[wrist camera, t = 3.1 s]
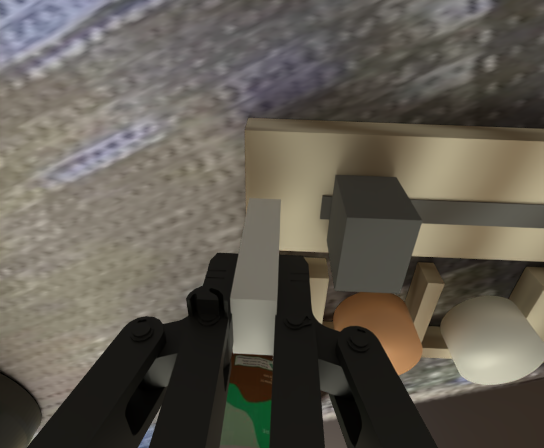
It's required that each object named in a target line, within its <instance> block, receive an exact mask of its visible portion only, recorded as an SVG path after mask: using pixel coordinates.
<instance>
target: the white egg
mask: <svg viewBox="0 0 544 448" xmlns="http://www.w3.org/2000/svg"><path fill="white" fill-rule="evenodd" d="M440 331H441V334H442V336H443V338H444V341H445V343H446V345H447V347H448V349H449V352H450V354H451V356H452V358H453V360H454V363H455V365H456V367H457V369H458V371H459V373H460V375H461V376H462V377H463V378H465V379H466V380H468V381H471V382H473V383H477V384H485V385H494V384H503V383H508V382H511V381H515V380H518V379H520V378H522V377H525V376H526V375H528V374H530V373H532V372H533V371H534V370H536V369H537V368H538V367H539V366H540V365H541V364H542V363H543V361H544V342H543V341H542V339H541V338H540V337H539V335H538V334H537V333H536V331H535V330H534V329H533V327H532V326H531V324H530V323H529V322H528V320H527V319H526V318H525V316H524V315H523V314H522V312H521V311H520V310H519V308H518V307H517V306H516V304H515V303H514V302H512V301H511V300H509V299H507V298H504V297H500V296H480V297H475V298H471V299H468V300H466V301H463V302H461V303H459V304H458V305H456V306H454V307H453V308H452V309H451V310H449V311H448V312H447V313H446V315H445V316H444V317H443V319H442V321H441V324H440Z"/></svg>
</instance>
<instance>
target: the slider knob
mask: <svg viewBox="0 0 544 448" xmlns="http://www.w3.org/2000/svg"><path fill="white" fill-rule="evenodd" d="M422 221H423V220H422V219H421V217H420V215H419V214H418V212H417V210H416V209H415V207H414V205H413V204H412V202H411V201H410V199H409V197H408V196H407V194H406V192H405V191H404V189H403V187H402V186H401V184H400V182H399V181H398V179H397V177H382V176H357V175H335V183H334V190H333V197H332V204H331V212H330V219H329V226H328V233H327V246H328V252H329V258H330V264H331V271H332V277H333V283H334V289H335V291H350V292H373V293H396V294H400V292H401V289H402V286H403V282H404V279H405V276H406V273H407V269H408V266H409V263H410V260H411V256H412V253H413V250H414V247H415V243H416V240H417V237H418V234H419V231H420V227H421V224H422Z"/></svg>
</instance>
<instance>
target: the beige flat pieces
mask: <svg viewBox="0 0 544 448" xmlns="http://www.w3.org/2000/svg"><path fill="white" fill-rule="evenodd" d="M335 175H357V176H382V177H397V179H398V181H399V182H400V184H401V186H402V187H403V189H404V191H405V192H406V194H407V196H408V197H409V199H410V201H411V202H412V204H413V205H414V207H415V209H416V210H417V212H418V214H419V215H420V217H421V219H422V220H423V221H422V224H421V227H420V231H419V234H418V237H417V240H416V243H415V247H414V250H413V253H412V256H423V257H446V258H470V259H493V260H517V261H540V262H544V129H535V128H509V127H482V126H455V125H428V124H401V123H375V122H348V121H321V120H294V119H268V118H248V121H247V124H246V128H245V185H246V213H247V208H248V202H249V198H260V199H281V213H280V240H279V250H281V251H305V252H328V246H327V233H328V226H329V219H330V212H331V204H332V197H333V190H334V183H335ZM304 258H305V260H306V261H307V263H308V264H309V277H310V290H311V304H312V312H313V315H314V317H315V318H316V319H317V320H318V322H319V323H321V324H322V325H324V326H326V327H328V328H331V329H334V324H333V322H327V321H323V314H324V308H325V301H326V295H327V288H328V282H329V276H328V269H327V262H326V258H310V257H304ZM444 285H445V283H444V281H443V280H442V278H441V276H440V274H439V272H438V270H437V269H436V267H435V265H434V263H427V262H418V263H417V266H416V269H415V272H414V276H413V279H412V282H411V285H410V288H409V291H408V294H407V297H406V300H405V304H406V305H407V308H408V310H409V313H410V315H411V318H412V321H413V323H414V326H415V328H416V331H417V334H418V336H419V339H420V341H421V344H422V348H423V351H422V356H421V357H430V358H451V359H453V358H452V356H451V354H450V352H449V349H448V347H447V345H446V343H445V341H444V338H443V336H442V334H441V331H440V327H438V326H428V325H429V322H430V320H431V317H432V315H433V312H434V310H435V307H436V305H437V302H438V300H439V297H440V295H441V292H442V290H443V287H444ZM509 300H511V301H512V302H514V303H515V304H516V306H517V307H518V308H519V310H520V311H521V312H522V314H523V315H524V316H525V318H526V319H527V320H528V322H529V323H530V324H531V326H532V327H533V329H534V330H535V331H536V333H537V334H538V335H539V337H540V338H541V339H542V341H543V342H544V267H526V268H525V270H524V271H523V273H522V275H521V277H520V279H519V281H518V282H517V284H516V286H515V288H514V290H513V292H512V293H511V295H510V297H509ZM543 363H544V362H543Z"/></svg>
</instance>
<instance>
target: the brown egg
mask: <svg viewBox="0 0 544 448" xmlns="http://www.w3.org/2000/svg"><path fill="white" fill-rule="evenodd" d="M333 324H334V330H337V331H341V330H343V329H344V328H346V327H349V326H360V327H364V328H367V329H368V330H370V331H371V332H373V333H374V334H375V336H376V337H377V338H378V339H379V341H380V343H381V345H382V347H383V348H384V350H385V352H386V354H387V356H388V357H389V359H390V361H391V363H392V365H393V367H394V368H395V370H396V372H397V374H398V375H400V374H403V373H405V372H407V371H408V370H410V369H411V368H413V367H414V366H415V365H416V364H417V363H418V361H419V360H420V358H421V356H422V351H423V348H422V344H421V341H420V339H419V336H418V334H417V331H416V328H415V326H414V323H413V321H412V318H411V315H410V313H409V310H408V308H407V305H406V304H405V302H404V301H403V300H402V299H401V298H400V297H398V296H396V295H394V294H392V293H373V292H360V293H357V294H354V295H352V296H350V297H348V298H346V299H345V300H344V301H342V302H341V303H340V304H339V305H338V307H337V308H336V310H335V312H334V315H333Z"/></svg>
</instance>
